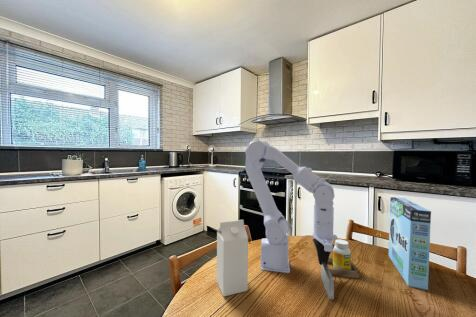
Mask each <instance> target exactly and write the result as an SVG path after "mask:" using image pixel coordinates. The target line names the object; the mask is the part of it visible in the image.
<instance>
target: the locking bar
mask: <svg viewBox="0 0 476 317" xmlns="http://www.w3.org/2000/svg"><path fill="white" fill-rule="evenodd" d="M320 268H321V269H320V273H321V274H320V278H321V280H322V284H323V287H324V289H325V292H326V295H327V298H328V300H332V301H333V300H335V298H334V296H335V280H334V278H333V275H331V273H330V271H329V269H328V268H329V266H328V263H327V264H326V262H321V267H320Z"/></svg>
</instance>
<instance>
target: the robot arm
mask: <svg viewBox="0 0 476 317" xmlns="http://www.w3.org/2000/svg"><path fill="white" fill-rule="evenodd" d="M244 153H245V165H244V168H245V171H246V174H247V177H248V179H249V182H250V184H251V186H252V188H253V191H254V194H255V196H256V199H257V201H258V204H259V206H260V209H261V212H262V214H263V225H264V227H265V238H261V242H260V243H261V244H260V258H259V259H260V270H261V271H262V270H263V271H270V272H278V273H284V274H290V273H291V269H290V267H291V266H290V260H289V240H290V239H289V237H288V235H287V234H288V233H289V231H290V224H289V222H288V220H287V219H286V218H285V217H284V216H283V213H282V212H281V211H280V210H279V209H278V207H277V205H276V202H275V200H274V199H275V198H274V197H273V195H272V192H271V190H270V188H269V185H268V184H267V181H266V179H265V177H264V174H263V171H262V167H263V165H264V163H265V161H266V160H270V161H271V160H272V161H275V163H277V164H279V165H280V166H281V167H283V168H284V169H285V170H287V172H290V173H291V174H292V175H293V180H294V181H295V183H297V184H298V185H300V186H301V187H302V188H303V189H304V190H306V191H307V192H308V193H311V194H312V195H313V198H314V206H313V232H312V237H313V239H312V241H313V244H314V246H315V249H316V254H317V259H318V260H317V261H318V263H319V265H321V262H326V264H327V265H328V264H329V263H328V259H329V257H330V255H331V253H333V249H334V246H335V244H334V240H337V239H338V236H337V235H336V234H334V212H335V211H334V209H335V208H334V199H335V190H334V188H333V186H332V185H331V184H330V183H329V182H328V181H326V178H324V177H322V178H321V177H320V176H319V175H317V174H316V173H314V172H313V169H312V167H307V166H299V165H298V164H297V163H295V162H294V161H293V160H291V158H290V157H288V156H286V155H285V154H284V153H283V152H282V151H281V150H280V149H278V148H277V147H275V146H273V145H271V144H270V143H268V142H267V141H261V140H258V139H254V140H252V141H250V142H249V143H248V145H247V146H246V149H245V152H244Z"/></svg>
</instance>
